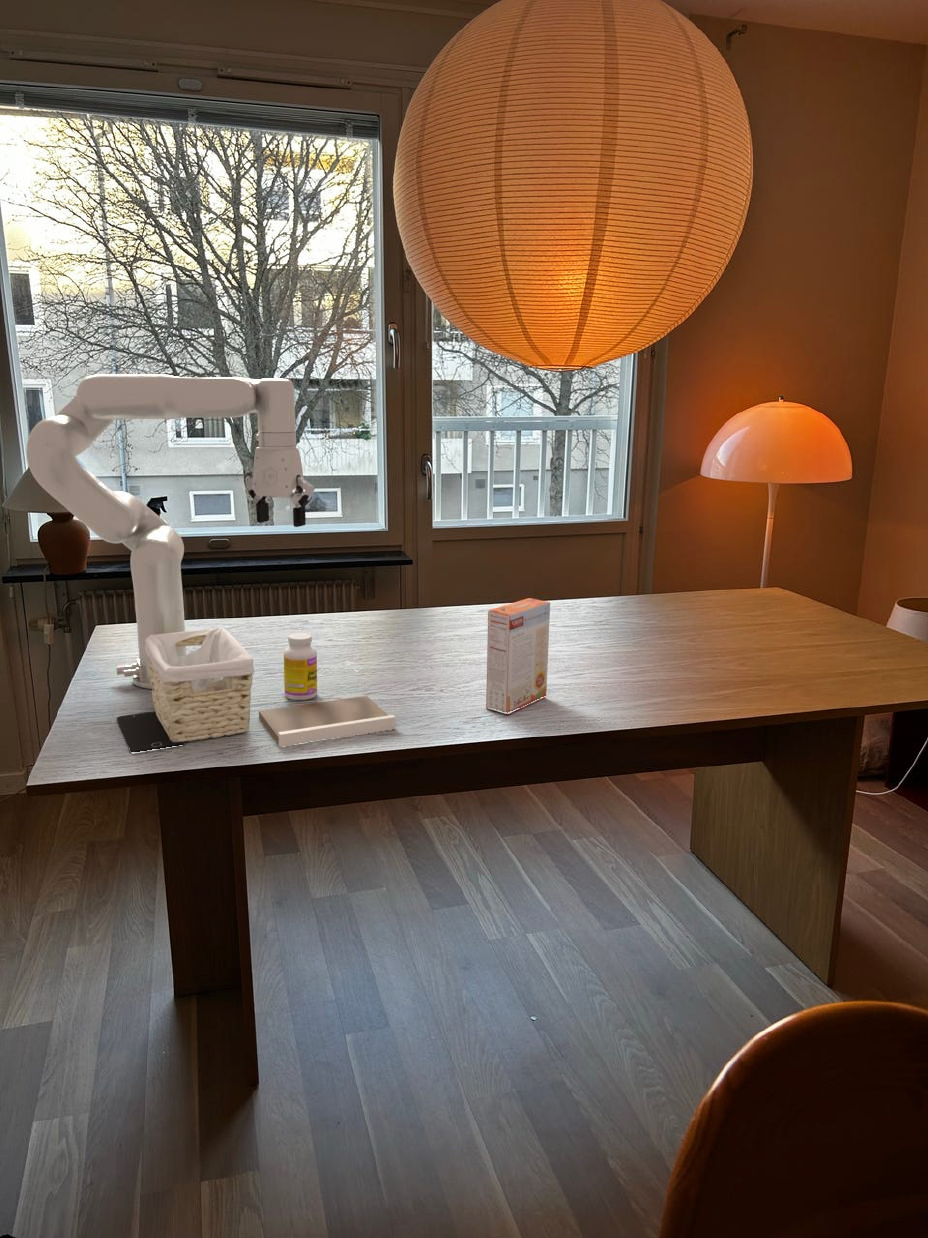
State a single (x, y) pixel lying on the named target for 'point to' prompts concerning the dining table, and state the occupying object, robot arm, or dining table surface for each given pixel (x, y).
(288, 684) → the supplement bottle
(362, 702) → the shelf board
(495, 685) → the cracker box
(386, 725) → the rail
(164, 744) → the cell phone
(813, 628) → the dining table surface
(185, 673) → the storage basket
